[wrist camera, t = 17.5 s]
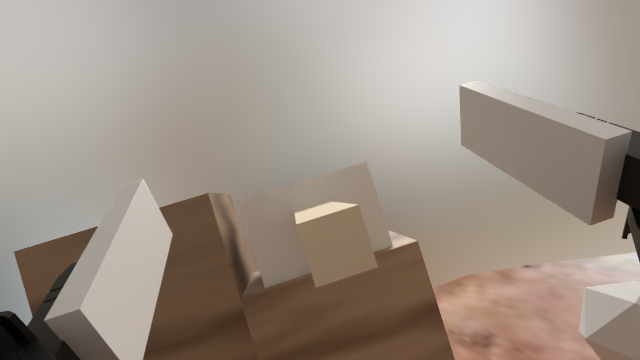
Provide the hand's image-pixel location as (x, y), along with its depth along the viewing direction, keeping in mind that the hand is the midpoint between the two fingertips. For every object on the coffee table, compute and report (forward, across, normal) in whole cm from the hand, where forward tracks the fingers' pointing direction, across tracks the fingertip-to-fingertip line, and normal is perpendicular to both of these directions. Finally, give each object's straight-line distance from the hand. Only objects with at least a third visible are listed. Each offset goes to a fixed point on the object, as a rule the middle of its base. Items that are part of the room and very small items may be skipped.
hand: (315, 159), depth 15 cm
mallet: (+3, 0, -9) cm, 10 cm away
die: (+1, +25, -32) cm, 40 cm away
